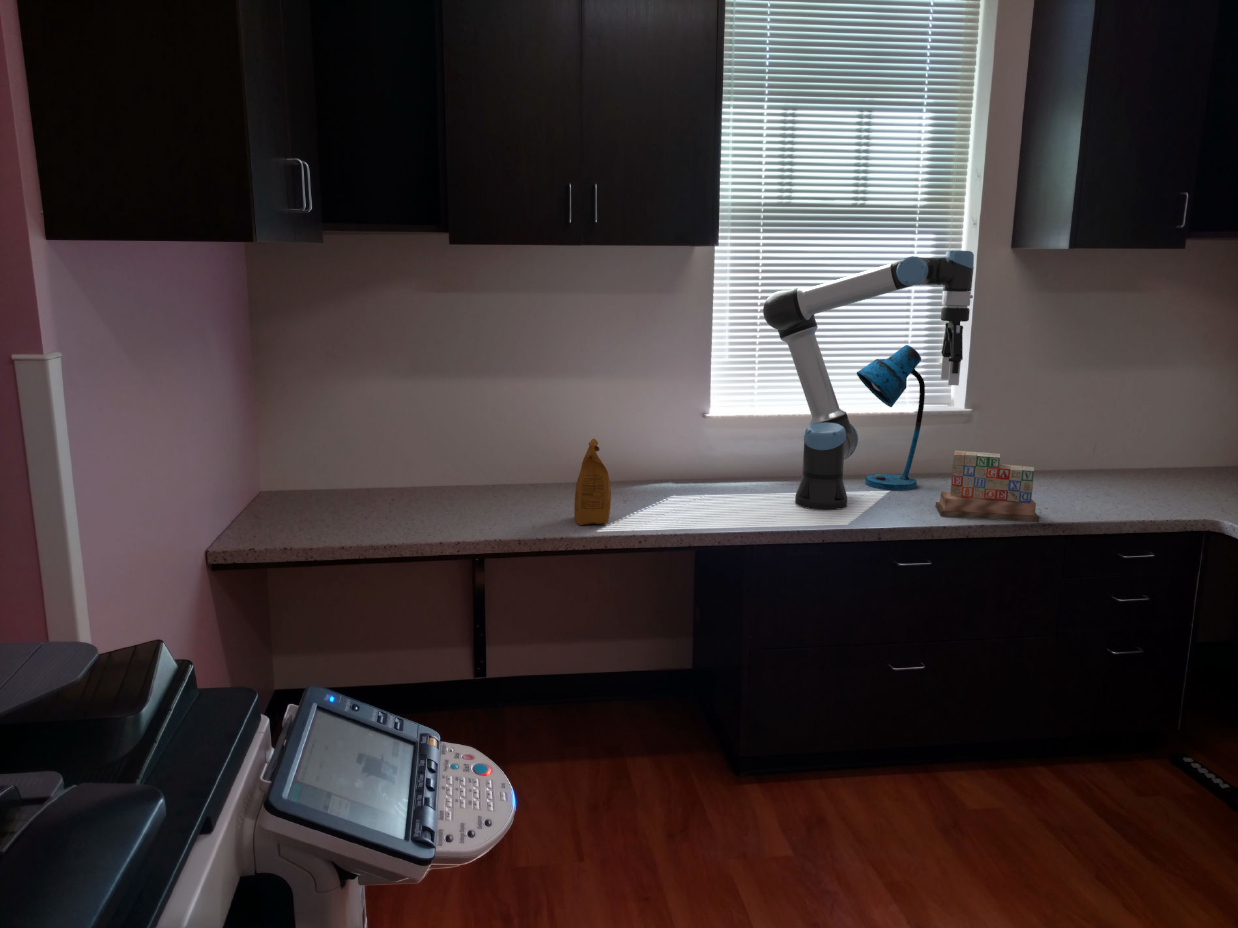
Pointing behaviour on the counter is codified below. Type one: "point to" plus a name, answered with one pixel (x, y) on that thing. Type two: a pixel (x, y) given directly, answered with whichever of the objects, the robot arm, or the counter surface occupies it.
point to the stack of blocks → (990, 478)
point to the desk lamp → (888, 386)
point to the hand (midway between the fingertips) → (949, 382)
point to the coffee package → (592, 489)
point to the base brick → (985, 508)
